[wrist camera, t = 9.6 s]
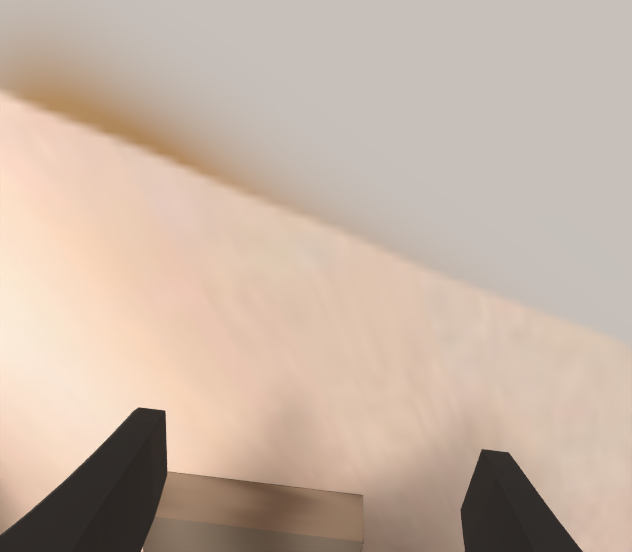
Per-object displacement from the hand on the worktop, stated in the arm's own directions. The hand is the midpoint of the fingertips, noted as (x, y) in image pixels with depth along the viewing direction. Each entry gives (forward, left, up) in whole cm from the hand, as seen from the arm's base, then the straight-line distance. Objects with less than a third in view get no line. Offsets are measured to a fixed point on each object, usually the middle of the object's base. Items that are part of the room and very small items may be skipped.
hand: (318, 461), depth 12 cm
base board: (-2, -18, -9) cm, 20 cm away
